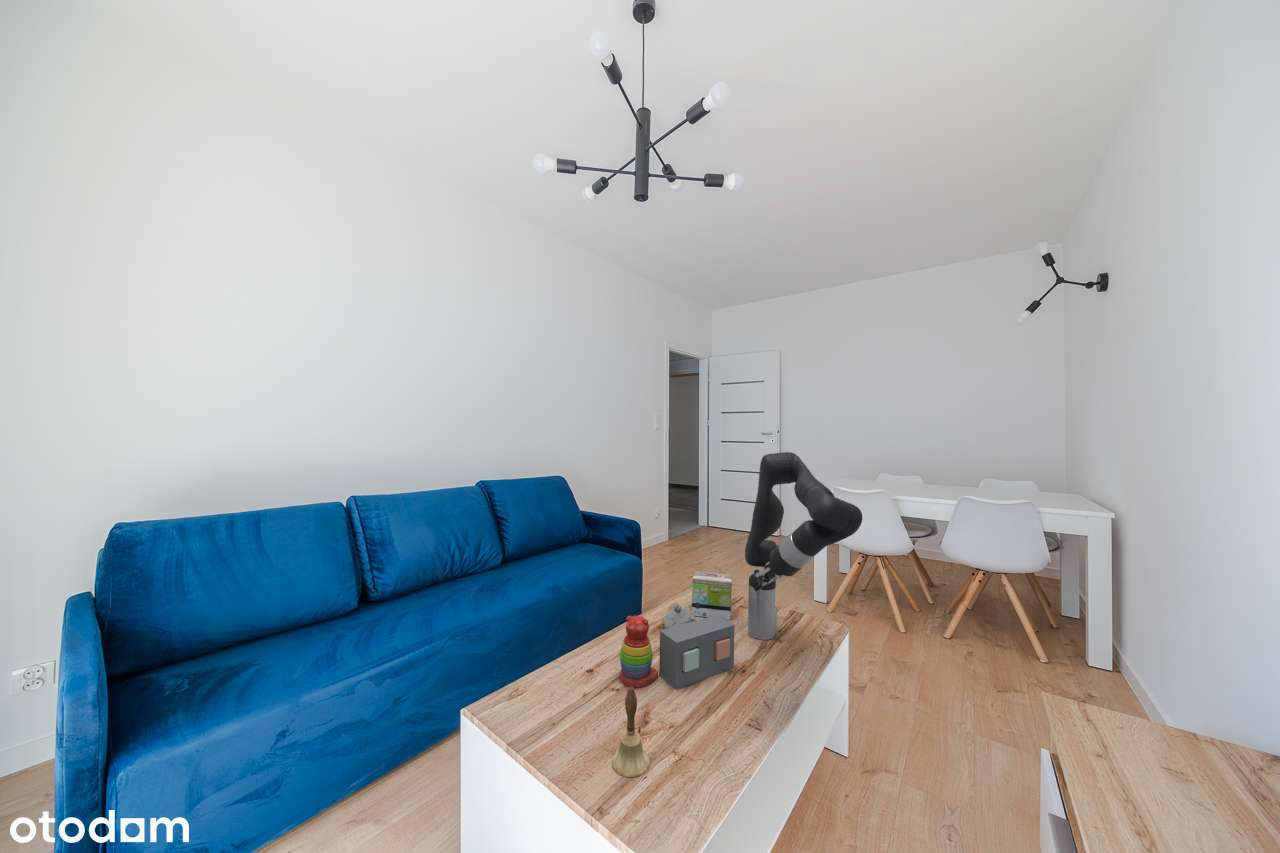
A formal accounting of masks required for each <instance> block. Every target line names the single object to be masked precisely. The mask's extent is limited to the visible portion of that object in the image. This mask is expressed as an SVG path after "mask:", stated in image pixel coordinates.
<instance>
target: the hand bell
mask: <svg viewBox="0 0 1280 853" xmlns="http://www.w3.org/2000/svg"><path fill="white" fill-rule="evenodd" d="M624 706H625V708H624V709H625V713H626V716H627V718H626V719H627V722H626V723H627V724H626V731H625V732H624V733H622V735H621V737H620V741H619V747H618V749H617V750H616V751H615V752H614V753H613V756H612V758H611V766H612V769H613V771H614V772H615V773H617V774H618V775H620V776H622V777H625V778H636V777H640V776H642V775H643V774H645V773H646V772H647V771H648V770H649V768H650V765H651V760H650V756H649V755H648V753H647V752H646V751H645V749H644V748H643V742H642V737H641V734H640V733H639V732H637V731H636V730H635V729H636V727H635V724H636V722H635V716H636V713H637V706H638V698H637V694H636V692H635V687H629V686H628V689H627V692H626V694H625V700H624Z"/></svg>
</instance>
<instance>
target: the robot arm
mask: <svg viewBox="0 0 1280 853" xmlns="http://www.w3.org/2000/svg"><path fill="white" fill-rule="evenodd" d="M811 472H812V471H810V470H809V468H808V466H807V465H806V464H805V463H804V462H803V460H802V458H800V457H799V455H797V454H796V453H794V452H791V451H790V452H789V451H785V452H776V453H768V454H765V455H763V456H762V458H761V460H760V465H759V473H758V485H757V486H758V487H757V494H756V499H755V504H754V508H753V512H752V518H751V526H750V531H749V533H748V534H749V535H748V537H747V541H746V543H745V548H744V549H745V550H744V557H745V562H746V563H747V565H749V566H751V567H754V568H755V567H757V568H758V567H760V568H761V567H762V569H761V570H760V569H755V570H754V571H753V573H752V574H751V575H749V577H748V605H747V607H748V608H747V633H748V635H749V636H750V637H752V638H754V639H757V640H761V641H762V640H763V641H768V640H771V639H774V638H775V636H776V635H777V632H778V631H777V630H778V629H777V628H778V625H777V624H778V608H777V606H776V591H777V590H776V588H777V586H776V584H777V581H778V580H779V579H781V578H783V577H794V576H795V575H796V574H797V573H798V572H799V571H801V570H802V569H803V568H804V567H805V566H806V565H808V564H809V563H810V562H811V561H812V560H813V558H815V556H816V555H818V554H819V553H820V552H821V551H822V550H824V549H825V548H826V547H828V546H831V545H833V544H835V543H838V542H840V541H843V540H844V539H848V538H849V537H851V536H852V535H854V534H855V533H856V532H857V531H858V530H859V529H860V527H861V525H862V522H863V514H862V510H861V509H860V508H859V507H858V506H857V505H854V504H853V503H850V502H848V501H846V500H842V499H840V498H838V497H835V494H834V493H833V492H832V491H831V489H830V488H828V487H827V486H826V485H824V484H823V483H822V482H821V481H819V480H818V479H817V477H815V476H814V475H813V474H812V473H811ZM793 483H795V484H794V489H793V491H794V494H795V497H796V499H797V500H798V501H799V502H800V504H802V505H803V506H804V507H805V508H806V509H807V513H808V515H809V516H810V518H811V519H808V520H806V521H804V522H802V523H801V524H800V525H799V526H797V528H796V529H794V531H793V532H792V533H790V534H789V535H787V536H786V537H785V538H784V539H783V540H782V541H781V542H780V543H778V544H776V541H774V540H772V539H771V540H769V539H768V538H770V537H771V536H772V535H774V534H775V533H776V532H778V530H779V529H780V527H781V525H782V523H783V518H784V514H785V508H784V505H783V503H782V501H781V500H780V498H779V497H778V496H777V495H776V494H775V492H774V491H773V488H774V486H776V485H777V486H778V485H786V484H787V485H789V484H793Z"/></svg>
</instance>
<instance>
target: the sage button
mask: <svg viewBox="0 0 1280 853" xmlns="http://www.w3.org/2000/svg"><path fill="white" fill-rule="evenodd" d="M698 667H699V649H697V648H696V647H695V648H692V649H689V650H686V651H683V652H682V670H683V671H684V672H687V671H690V670H693V669H696V668H698Z"/></svg>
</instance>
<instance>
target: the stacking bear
mask: <svg viewBox="0 0 1280 853" xmlns="http://www.w3.org/2000/svg"><path fill="white" fill-rule="evenodd" d="M649 630H650V624H649V621H648V619H647V618H645V617H644V616H641V615H633V616H632V615H628V616H627V617H626V624H625V632H626V635H625V636H624V638H623V641H622V644H621V648H620V653H619V662H620V668H621V669H620V673H619V679H620V682H621V683H622V684H623V685H625V686H627V687H628V688H629V687H634V688H643V687H646V686H648V685H651V683H653V682H655V680H657V678H658V677H659V672H658V670H657V669H656V668H654V667H652V663H653V648H652V644H651V641H650V637H649V636H648V633H649Z"/></svg>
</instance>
